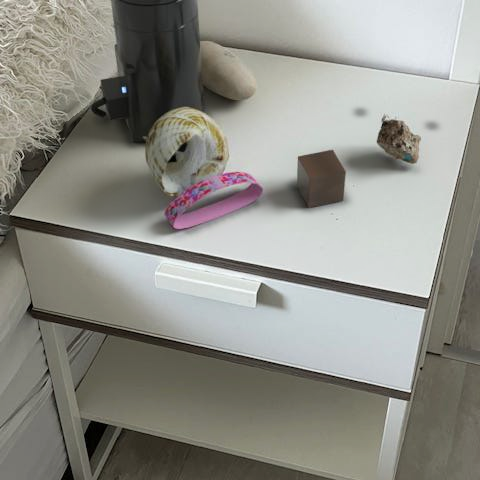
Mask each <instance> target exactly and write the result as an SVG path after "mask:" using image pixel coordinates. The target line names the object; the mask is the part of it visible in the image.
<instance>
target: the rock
mask: <svg viewBox="0 0 480 480" xmlns="http://www.w3.org/2000/svg"><path fill="white" fill-rule="evenodd" d="M386 118H388V119H386ZM390 118H392V117H391V116H389V114H388V113H387V114H385V113H383V116H382V118H381V120H380V121H381V122H380V123H381V124H380V125H381V126H380V129H379V131H378V133H377V139H376V144H377V145H378V146H379V147H380V148H381V149H382V150H384V152H385V153H386V154H388V155H389V156H391V157H393V158H395V160H401V161H402V162H406V163H408V164H412V165H414V164H417V163H418V161H419V157H420V142H421V140H422V137H421V136H420V135H418V134H414V133H413V132H411V130H410V127H409V125H407V124H406V123H405V121H404V120H400V119H399V120H398V116H395V118H392V119H390Z"/></svg>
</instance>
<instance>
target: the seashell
mask: <svg viewBox="0 0 480 480" xmlns="http://www.w3.org/2000/svg"><path fill="white" fill-rule="evenodd" d="M229 149H230V148H229V145H228V139H227V137H226V135H225V132H224V130H223V128H222V126H221V124H219V122H217V120H215V119H214V118H213V117H212V116H210V115H209V114H207V113H206V112H205V113H204V112H201V111H199V110H196V109H193V108H190V107H181V108H177V109H174V110H171V111H169V112H168V113H166V114H164V115H163V116H162V117H160V118H159V119H158V120H157V121H156V122H155V124H154V125H153V127H152V128H151V130H150V132H149V134H148V137H147V140H146V142H145V148H144V151H145V152H144V156H145V157H144V158H145V162H146V165H147V167H148V170H149V172H150V174H151V175H152V177H153V180H154V181H155V183H156V185H157V186H158V187H159V189H161V191H162V192H163V193H164V194H166V195H167V196H169V197H175V196H176V197H178V196H179V195H180V194H182V193H183V192H184V191H186V190H187V189H189V188H191V187H192V186H194V185H196V184H197V183H199V182H201V181H203V180H206V179H208V178H210V177H212V176H216V175H220V174H224V171H226V168H227V164H228V161H229V159H230V150H229Z"/></svg>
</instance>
